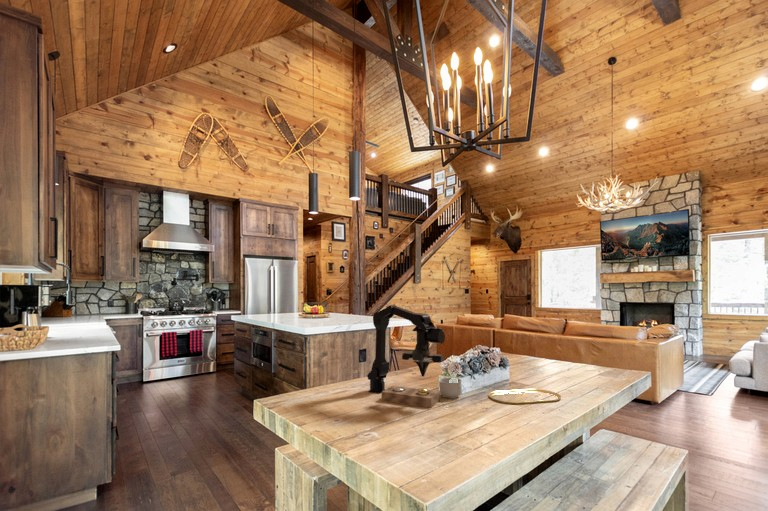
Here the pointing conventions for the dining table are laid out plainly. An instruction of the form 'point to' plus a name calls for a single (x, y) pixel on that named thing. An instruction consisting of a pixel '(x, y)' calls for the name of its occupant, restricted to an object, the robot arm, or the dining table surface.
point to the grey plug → (399, 389)
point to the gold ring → (523, 391)
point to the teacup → (450, 387)
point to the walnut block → (411, 397)
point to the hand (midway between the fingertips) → (423, 376)
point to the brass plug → (422, 391)
